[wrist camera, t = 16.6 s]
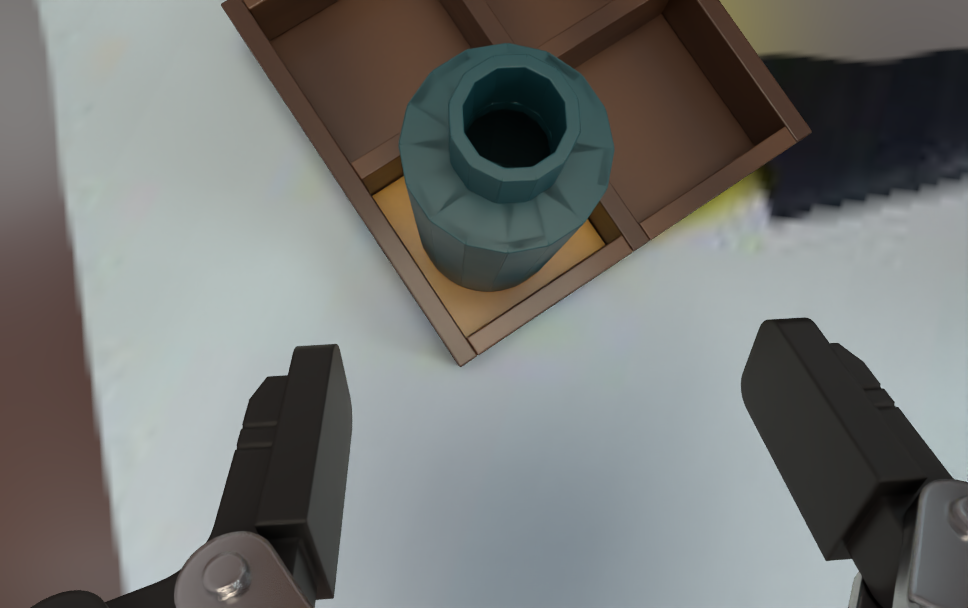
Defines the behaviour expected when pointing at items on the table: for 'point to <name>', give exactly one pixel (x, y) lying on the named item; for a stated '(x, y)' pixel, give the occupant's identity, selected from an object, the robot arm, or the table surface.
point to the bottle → (503, 162)
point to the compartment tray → (577, 42)
